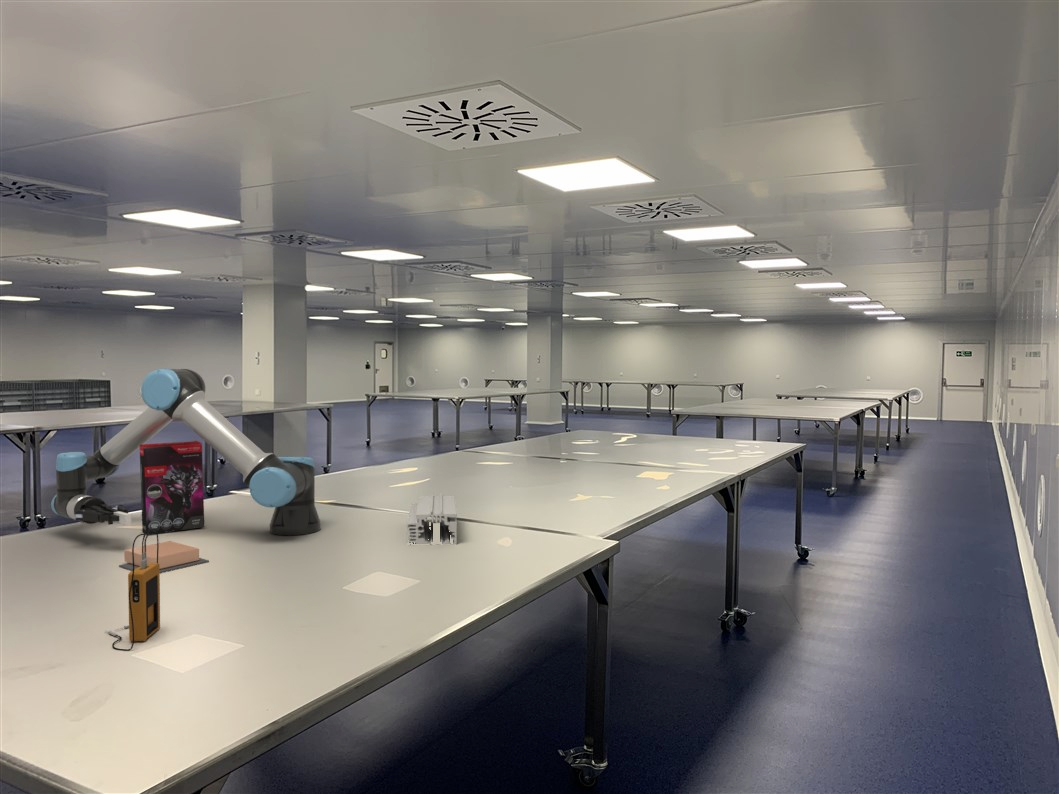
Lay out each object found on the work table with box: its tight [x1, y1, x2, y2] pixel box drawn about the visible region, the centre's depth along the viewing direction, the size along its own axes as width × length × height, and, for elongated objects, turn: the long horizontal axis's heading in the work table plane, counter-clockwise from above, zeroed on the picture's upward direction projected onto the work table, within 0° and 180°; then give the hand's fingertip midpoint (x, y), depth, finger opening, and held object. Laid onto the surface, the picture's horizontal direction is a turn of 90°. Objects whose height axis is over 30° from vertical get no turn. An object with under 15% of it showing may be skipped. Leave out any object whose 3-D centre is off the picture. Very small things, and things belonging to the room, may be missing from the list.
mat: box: [118, 557, 210, 574], centre depth 187 cm, size 14×16×1 cm
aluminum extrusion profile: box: [406, 492, 458, 546], centre depth 225 cm, size 14×31×10 cm, turn 7°
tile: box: [123, 540, 200, 569], centre depth 188 cm, size 3×12×14 cm
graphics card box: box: [138, 440, 205, 536], centre depth 226 cm, size 17×7×27 cm, turn 129°
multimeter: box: [104, 528, 161, 652], centre depth 137 cm, size 15×10×20 cm
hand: (128, 519), depth 197 cm, fingers closed
